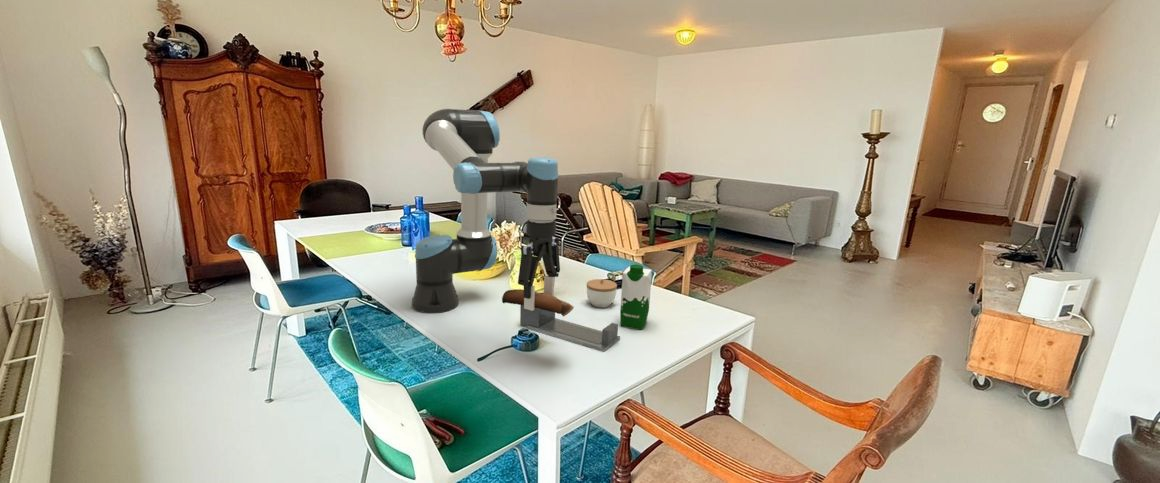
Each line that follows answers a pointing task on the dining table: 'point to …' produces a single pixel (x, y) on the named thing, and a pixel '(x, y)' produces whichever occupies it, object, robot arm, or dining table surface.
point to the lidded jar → (601, 292)
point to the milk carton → (635, 297)
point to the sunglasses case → (538, 301)
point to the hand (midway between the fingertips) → (539, 304)
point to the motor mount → (569, 329)
